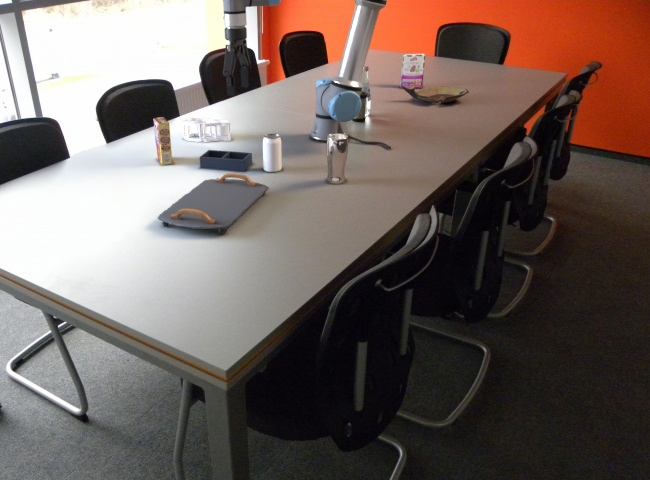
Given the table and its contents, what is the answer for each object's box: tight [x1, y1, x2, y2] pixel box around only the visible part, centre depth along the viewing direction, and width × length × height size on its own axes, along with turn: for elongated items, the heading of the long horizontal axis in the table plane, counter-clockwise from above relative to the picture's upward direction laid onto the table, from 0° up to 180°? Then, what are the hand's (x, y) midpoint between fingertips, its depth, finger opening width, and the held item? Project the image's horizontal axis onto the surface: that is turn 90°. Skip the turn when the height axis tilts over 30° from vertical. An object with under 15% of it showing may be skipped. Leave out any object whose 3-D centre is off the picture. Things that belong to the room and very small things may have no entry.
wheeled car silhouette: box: [181, 117, 232, 143], centre depth 250 cm, size 20×11×7 cm, turn 66°
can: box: [262, 133, 283, 173], centre depth 213 cm, size 6×6×12 cm
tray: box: [198, 149, 253, 173], centre depth 220 cm, size 17×9×4 cm, turn 71°
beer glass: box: [325, 133, 349, 185], centre depth 200 cm, size 7×7×15 cm
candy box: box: [153, 116, 173, 166], centre depth 224 cm, size 9×4×15 cm, turn 20°
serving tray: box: [157, 172, 270, 236], centre depth 184 cm, size 39×23×6 cm, turn 158°
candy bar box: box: [400, 53, 426, 89], centre depth 315 cm, size 11×5×16 cm, turn 80°
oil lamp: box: [400, 85, 470, 104], centre depth 291 cm, size 22×30×8 cm
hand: (238, 91), depth 219 cm, fingers open, 13 cm apart
